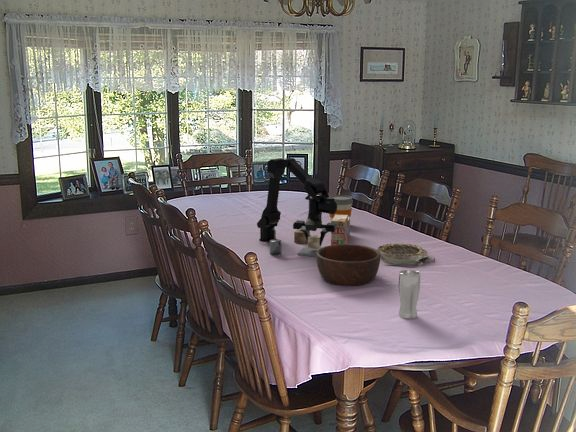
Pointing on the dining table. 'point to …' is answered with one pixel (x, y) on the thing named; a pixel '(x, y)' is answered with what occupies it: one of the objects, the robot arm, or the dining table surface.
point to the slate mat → (308, 251)
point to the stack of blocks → (340, 229)
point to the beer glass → (408, 293)
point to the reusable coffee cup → (342, 205)
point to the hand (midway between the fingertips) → (314, 244)
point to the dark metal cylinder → (275, 247)
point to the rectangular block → (299, 237)
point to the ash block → (314, 241)
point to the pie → (403, 254)
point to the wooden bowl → (348, 264)
